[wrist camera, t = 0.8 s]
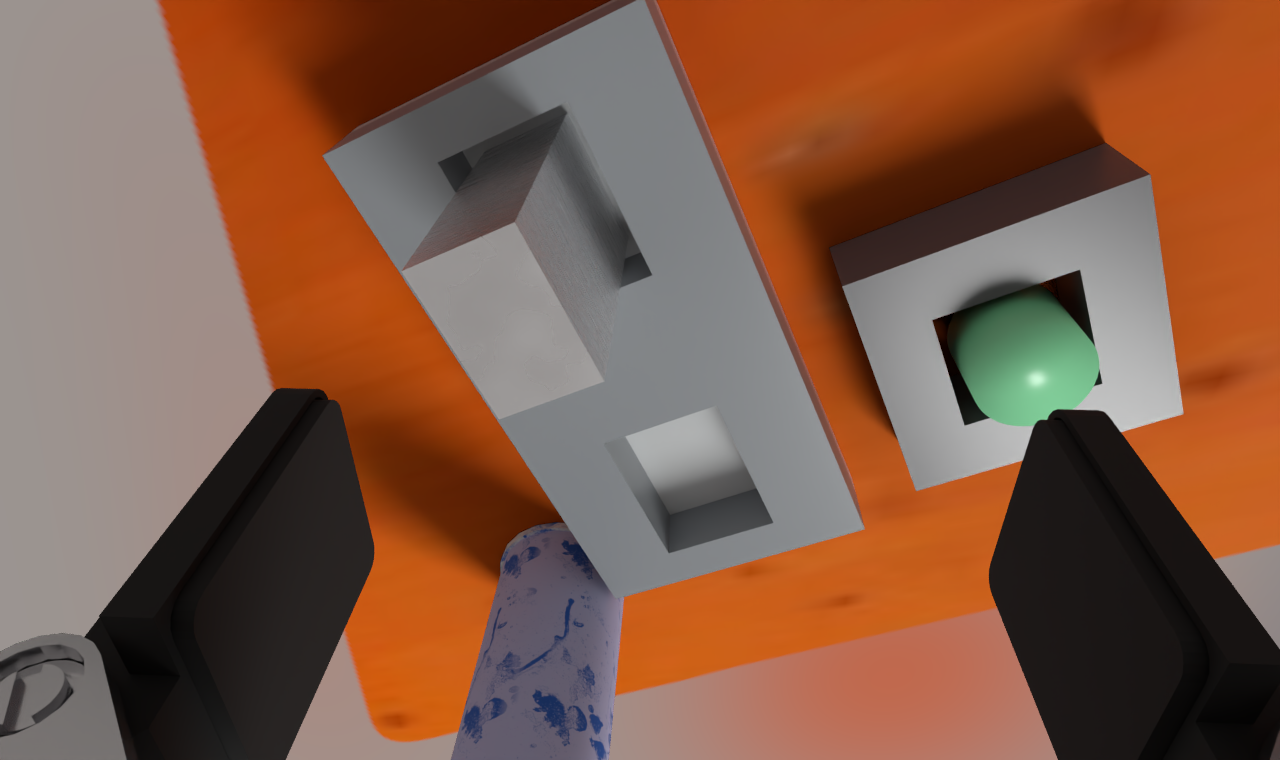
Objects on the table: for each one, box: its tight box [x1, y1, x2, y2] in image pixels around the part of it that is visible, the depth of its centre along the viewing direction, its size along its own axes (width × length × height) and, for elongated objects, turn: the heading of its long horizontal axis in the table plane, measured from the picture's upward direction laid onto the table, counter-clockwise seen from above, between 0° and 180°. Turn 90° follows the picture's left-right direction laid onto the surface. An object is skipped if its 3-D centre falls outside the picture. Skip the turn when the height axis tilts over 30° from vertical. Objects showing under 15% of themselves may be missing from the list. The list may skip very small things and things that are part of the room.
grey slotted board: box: [322, 0, 865, 599], centre depth 39 cm, size 14×27×4 cm, turn 25°
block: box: [401, 112, 629, 419], centre depth 31 cm, size 4×6×12 cm, turn 25°
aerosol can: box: [451, 522, 624, 760], centre depth 42 cm, size 8×8×20 cm
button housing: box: [829, 143, 1183, 491], centre depth 37 cm, size 12×12×4 cm
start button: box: [947, 284, 1099, 426], centre depth 36 cm, size 5×5×4 cm
